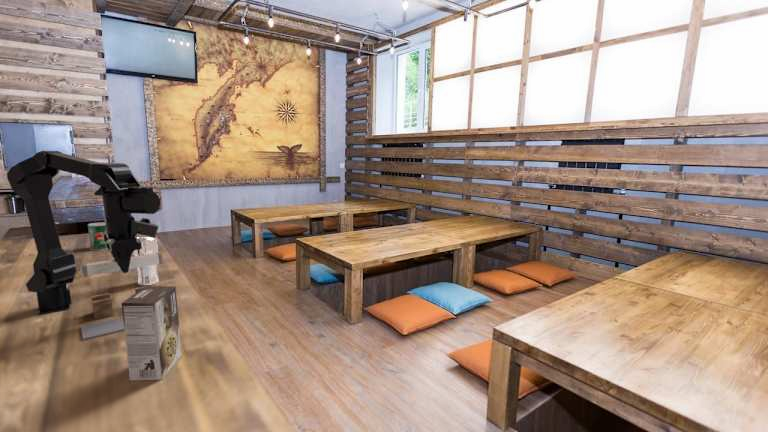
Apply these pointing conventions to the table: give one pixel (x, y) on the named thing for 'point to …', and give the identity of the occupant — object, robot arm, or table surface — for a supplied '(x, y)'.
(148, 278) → the beer glass
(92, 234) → the canned tomato
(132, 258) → the rail
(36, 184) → the robot arm
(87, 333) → the mat
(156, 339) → the coffee box
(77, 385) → the table surface
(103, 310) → the post left
